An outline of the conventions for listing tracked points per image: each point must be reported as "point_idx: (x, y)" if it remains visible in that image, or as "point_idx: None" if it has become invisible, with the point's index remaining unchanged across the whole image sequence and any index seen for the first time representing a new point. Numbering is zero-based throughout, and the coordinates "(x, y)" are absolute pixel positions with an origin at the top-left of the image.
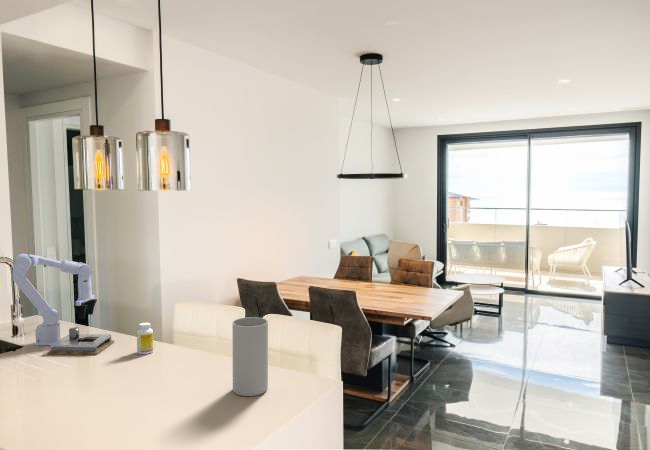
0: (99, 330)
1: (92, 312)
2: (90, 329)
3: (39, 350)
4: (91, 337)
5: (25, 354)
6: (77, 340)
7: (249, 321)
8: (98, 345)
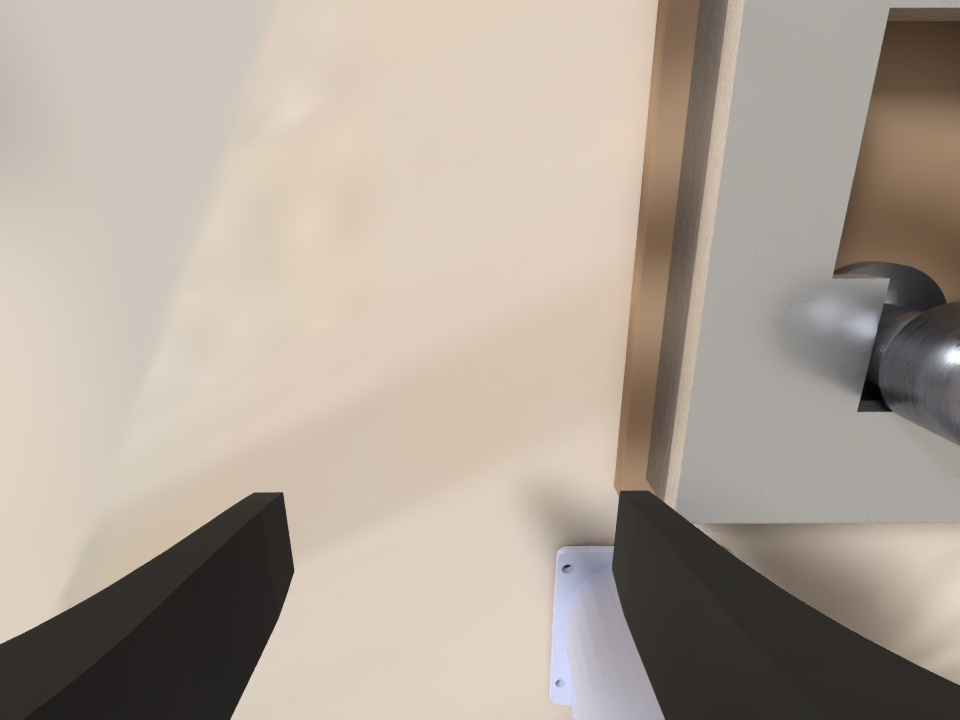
0: (171, 364)
1: (255, 512)
2: (157, 478)
3: (839, 602)
4: (848, 164)
5: (928, 648)
6: (922, 312)
7: None
8: (901, 24)
